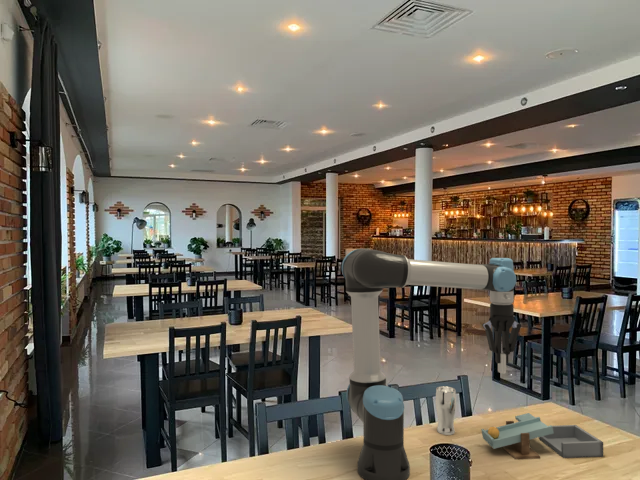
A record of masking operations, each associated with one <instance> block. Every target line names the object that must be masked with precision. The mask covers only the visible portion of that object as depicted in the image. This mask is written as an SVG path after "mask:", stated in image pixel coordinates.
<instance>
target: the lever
mask: <svg viewBox="0 0 640 480" xmlns="http://www.w3.org/2000/svg"><path fill="white" fill-rule="evenodd" d="M515 420H516V422H514V423H512V424H508V425H506V424H505V425H501V426H497V427H496V426H495V427H496V428H497V429H498V430H499V436H498V437H497V438H495V439H494V438H492V437H491V436H490V435H489V434H488V429H484V428H481V430H480V431H481V434H482V439H483V440H484V441H485V442H486V443H487V444H489V446H490V447H491V448H492V449H495V450H496V449H499V448H503V446H507V445H511V444H515V443H518V442H521V433H529V441H530V440H533V439H539V437H542V436H546V435H550V434H554V432H553V427H552V426H553V425H550V424H549V425H547V424H546V423H544V422H543V421H541V418H540V416H535V415H533V414H531V413H530V412H528V413H527V412H526V413H522V414H518V415H515Z"/></svg>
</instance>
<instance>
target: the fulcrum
mask: <svg viewBox="0 0 640 480" xmlns="http://www.w3.org/2000/svg"><path fill="white" fill-rule="evenodd" d="M512 423H515V421H514V420H506V421H505V425H508V424H512ZM530 445H531V444H530V440H529V433H521V442H518V443H515V444H511V445H507V446H503V447H502V449H504V451H505V452H506V453H508V454H509V455H510V456H511V457H512V458H513V459H514V460H529V459H530V460H532V459H533V460H534V459H541V455H540V454H539V453H537V452H536V451H535V450H534V449H533V448H531V447H530Z"/></svg>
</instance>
